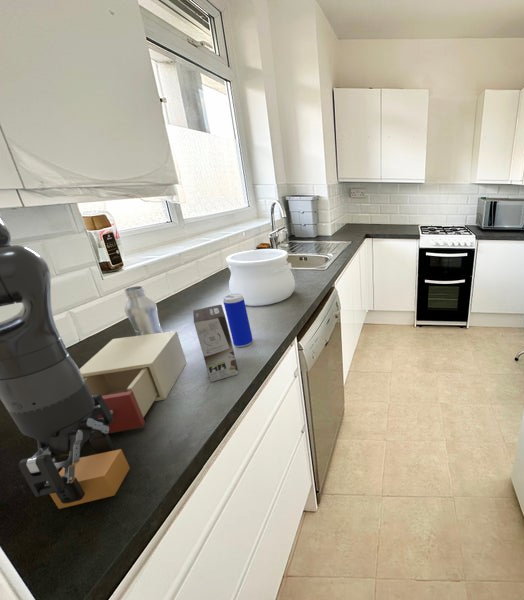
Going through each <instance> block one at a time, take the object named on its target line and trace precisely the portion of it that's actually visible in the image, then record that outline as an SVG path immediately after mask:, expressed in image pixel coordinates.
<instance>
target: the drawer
mask: <svg viewBox="0 0 524 600" xmlns="http://www.w3.org/2000/svg"><path fill="white" fill-rule="evenodd" d="M83 379H84V381H85V383H86V385H87V387H88V389H89V391H90V393H91V395H92V396H95V395H101V396H102V398H103V399H104V401H105V403H106V405H107V407H108V409H109V411H110V412H111V414H112V416H113V422H112V423H110V424H108V427H109V432H108V435H110V434H113V433H118V432H124V431H129V430H134V429H138V428H139V429H140V428H143V427H144V426H145V424H146V421H145V417H146V414H147V413H148V412H149V410H150V408H151V406H152V405H153V403H155V401H154V400H155V398H156V397H157V395H158V394H159V393H158V390H157V387H156V385H155V382H154V379H153V377H152V374H151V371H150V368H149V367H145V368H138V369H132V370H125V371H119V372H112V373H106V374H99V375H93V376H86V377H84V378H83ZM97 417H98V418H103V416H102V415H97Z"/></svg>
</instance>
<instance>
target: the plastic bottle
mask: <svg viewBox="0 0 524 600" xmlns="http://www.w3.org/2000/svg"><path fill="white" fill-rule="evenodd" d="M146 293H147V292H146V290H145V289H144V286H142V285H136V286H131V287H127V288H125V289H124V294H125V297H126V298H128V299H127V301H126V303H125V305H124V313H125V315H126V317H127V318H128V320H129V322H130V323H131V326H132V328H133V329H134V332H135V336H140V335H148V334H155V333H163V332H164V331H163V329H162V326H161V324H160V323H161V322H160V318H159V311H158V305H157V303H156V302H155V300H153V299H152V298H151V297H149V296H147V295H146Z"/></svg>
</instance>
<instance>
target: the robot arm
mask: <svg viewBox="0 0 524 600" xmlns="http://www.w3.org/2000/svg"><path fill="white" fill-rule="evenodd" d="M11 240H12V236H11V232H10V230H9V227H8V225H7V223H6V220H5V217H4V216H3V213H2V212H1V211H0V307H6V306H10V305H11V306H12V305H15V304H22V306H21V309H20V310H19V312H17V314H15V315H13V316H11V317H9V318H7V319H5V320H2V321H0V401H1V402H2V404H3V406H4V407H5V409H6V410H7V413H9V415H10V417H11V418H12V420H13V422H14V423H15V426H17V429H19V431H20V433H21V434H22V435H23V436H27V437H29V438H31V439H35V440H36V442H37V443H36V444H37V452H35V453H34V454H33V455H32V456H31V457H27V458H23V459H21V460H20V461H19V462H18V468H19V471H20V472H21V473H22V476H23V478H24V479H25V481H26V482H27V485H28V486H29V488H30V490H31V492H32V493H33V495H34V497H35V498H40V497H44V496H47V495H50V494H52V493H56V494H57V496H58V498H59V499H60V501H61V502H62V503H64V504H65V503H71V502H75V501H79V500H81V499H82V498H83V497H84V495H85V492H84V491H83V489H82V487H81V485H80V484H79V482H78V480H77V479H76V478H75V465H76V464H77V463H78V462H79V460H80V458H81V450H82V448H83V446H84V444H85V443H86V442H88V441H89V443H90V445H91V447H92V449H93V451H94V453H95V454H100V453H105V452H110V451H114V450H115V446H114V445H113V442H112V439H111V437H110V434H108V432H109V427H108V424H110V423H112V422H113V416H112V414H111V412H110V411H109V409H108V407H107V405H106V403H105V401H104V399H103V398H102V396H101V395H95V396H92V395H91V393H90V391H89V389H88V387H87V385H86V383H85V381H84V379H83V376H82V374H81V372H80V370H79V369H80V368H79V366H78V365H77V363H76V362H75V360H74V359H73V358H72V356H71V354H70V353H69V351H68V349H67V347H66V345H65V343H64V341H63V339H62V337H61V335H60V332H59V330H58V328H57V325H56V322H55V318H54V314H53V307H52V277H51V271H50V267H49V265H48V263H47V261H46V260H45V258H44V257H43V256H42V255H41V254H40V253H38V252H37V251H36V250H34V249H32V248H29V247H27V246H25V245H20V244H11V242H12V241H11ZM97 415H102V416H103V418H98V417H97ZM67 456H68V458H67V459H66V460H62V461H56V457H57V458H62V457H67ZM63 467H64V468H65V472H64V476H60V474H59V472H60V471H59V469H60V468H61V469H62V468H63Z"/></svg>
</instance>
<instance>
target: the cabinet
mask: <svg viewBox="0 0 524 600" xmlns="http://www.w3.org/2000/svg"><path fill="white" fill-rule="evenodd" d="M186 364H187V360H186V356H185V353H184V349H183V346H182V343H181V340H180V337H179V333H178V331H177V330H171V331H165V332H164V331H163V333H155V334H148V335H140V336H136V335H134V336H133V335H132V336H126V337H125V336H124V337H118V338H117V337H116V338H112V339H111V340H110V341H109V342H107V344H106V345H104V346H103V347H102V348H101V349H100V350H99V351H98V352H97V353H95V355H93V356H92V357H91V358H90V359H89V360H88V361H86V363H84V364H83V365H82V366H81V367H80V368H79V370H80V372H81V374H82V376H83V378H84V377H86V376H93V375H99V374H106V373H112V372H119V371H125V370H132V369H138V368H145V367H149V368H150V371H151V374H152V377H153V379H154V382H155V385H156V387H157V390H158V393H159V394H158V395H157V397H156V398H155V400H154V402H159V401H165V400H166V399H167V397H168V396H169V394H170V393H171V390H172V389H173V387H174V385H175V383H176V382H177V380H178V379H179V377H180V375H181V374H182V371H183V369H184V368H185V367H186Z"/></svg>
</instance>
